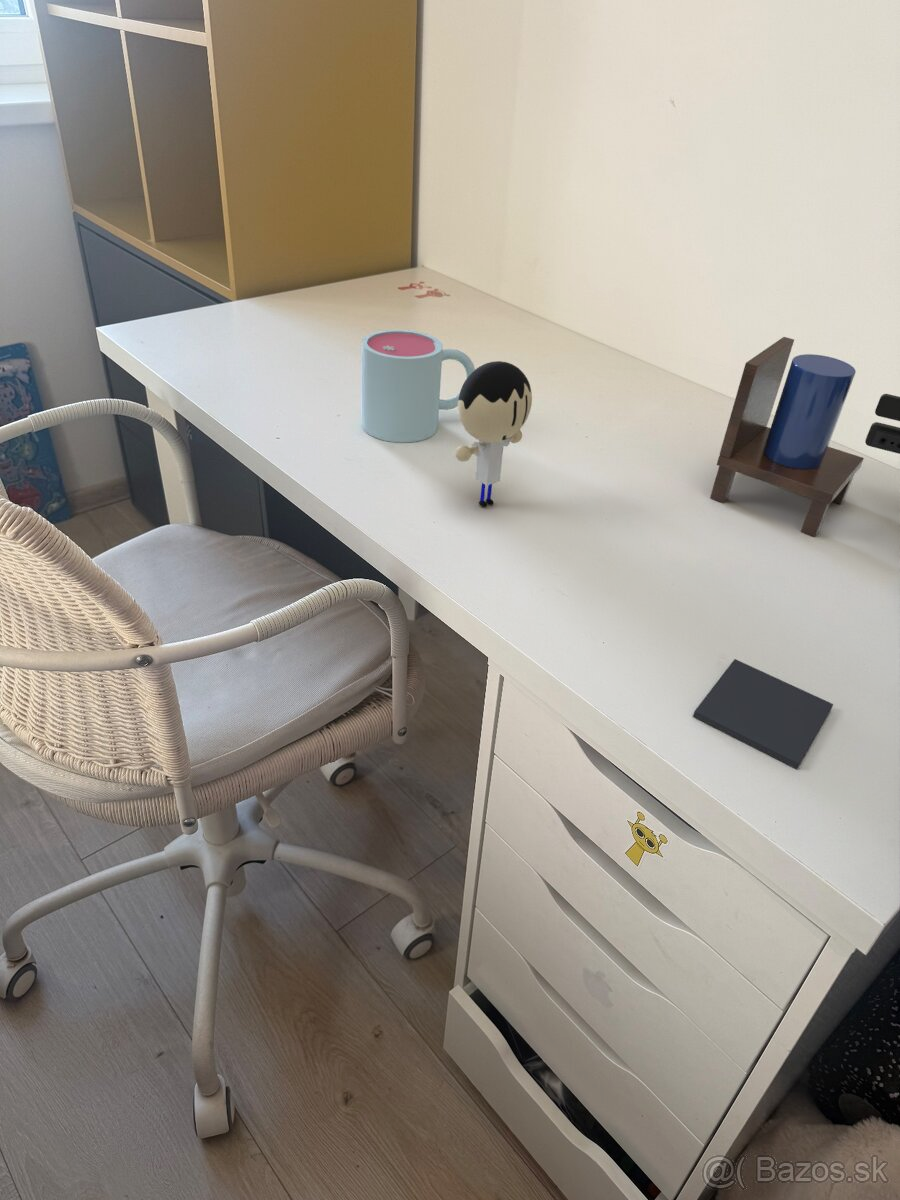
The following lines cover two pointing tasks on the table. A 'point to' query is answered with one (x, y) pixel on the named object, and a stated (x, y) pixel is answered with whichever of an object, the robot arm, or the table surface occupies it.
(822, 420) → the canister
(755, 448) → the miniature wooden chair
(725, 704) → the mat
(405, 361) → the mug
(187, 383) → the table surface
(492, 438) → the toy
